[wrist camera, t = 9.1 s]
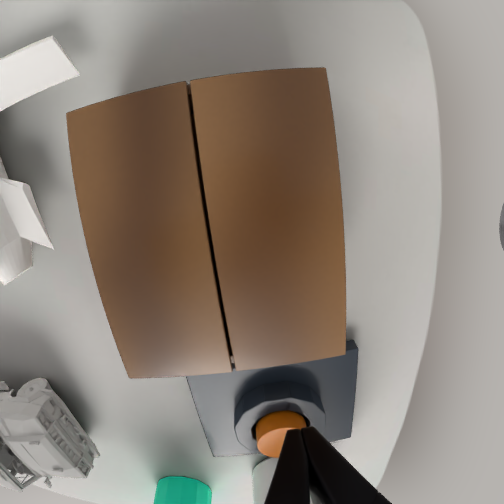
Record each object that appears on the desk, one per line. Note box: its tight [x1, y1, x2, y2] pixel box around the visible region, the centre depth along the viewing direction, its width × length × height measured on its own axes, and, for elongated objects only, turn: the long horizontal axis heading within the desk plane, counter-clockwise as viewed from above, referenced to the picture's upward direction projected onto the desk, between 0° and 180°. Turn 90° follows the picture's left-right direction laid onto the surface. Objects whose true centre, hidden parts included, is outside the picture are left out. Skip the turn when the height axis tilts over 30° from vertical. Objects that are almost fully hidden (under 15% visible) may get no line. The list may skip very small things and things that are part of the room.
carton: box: [66, 81, 234, 378], centre depth 16 cm, size 11×13×6 cm
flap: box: [190, 67, 346, 371], centre depth 13 cm, size 5×13×1 cm, turn 7°
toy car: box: [0, 377, 100, 492], centre depth 18 cm, size 10×20×10 cm, turn 104°
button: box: [256, 410, 307, 458], centre depth 20 cm, size 4×4×2 cm
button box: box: [186, 340, 358, 457], centre depth 21 cm, size 12×10×3 cm
